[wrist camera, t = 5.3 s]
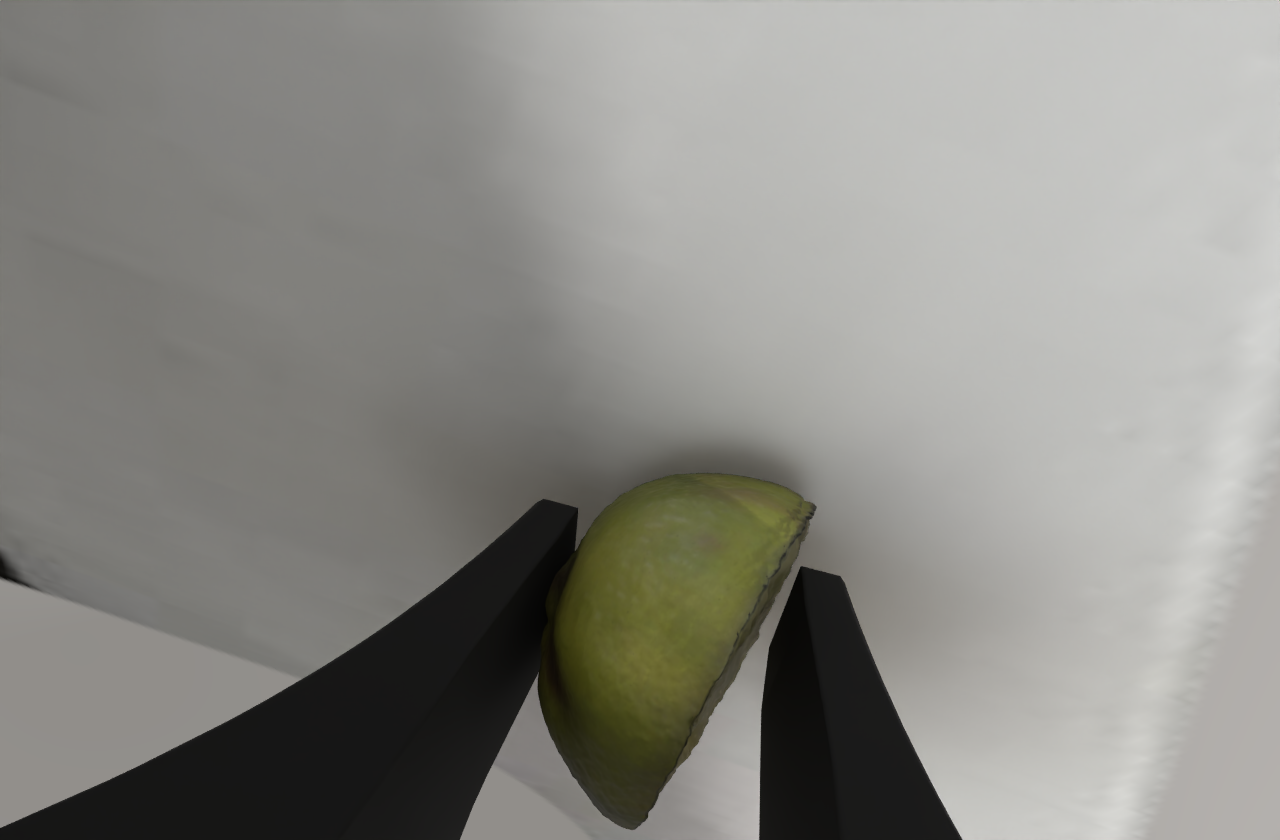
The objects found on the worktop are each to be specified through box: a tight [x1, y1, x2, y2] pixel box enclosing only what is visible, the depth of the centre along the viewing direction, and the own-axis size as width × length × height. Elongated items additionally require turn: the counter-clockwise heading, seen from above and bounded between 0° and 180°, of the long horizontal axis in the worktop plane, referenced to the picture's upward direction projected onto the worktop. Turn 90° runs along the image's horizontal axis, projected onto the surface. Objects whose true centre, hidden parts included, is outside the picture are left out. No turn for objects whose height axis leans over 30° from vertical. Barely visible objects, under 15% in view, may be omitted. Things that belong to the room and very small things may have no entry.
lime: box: [538, 473, 816, 830], centre depth 9 cm, size 4×5×5 cm
